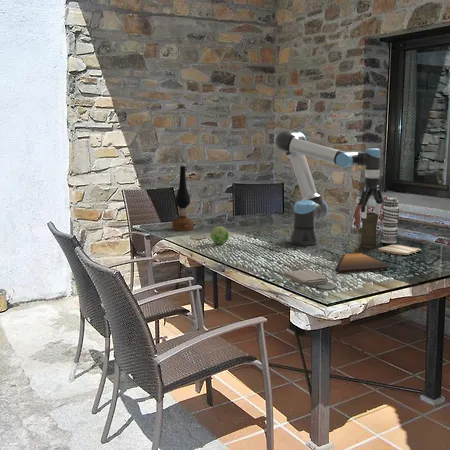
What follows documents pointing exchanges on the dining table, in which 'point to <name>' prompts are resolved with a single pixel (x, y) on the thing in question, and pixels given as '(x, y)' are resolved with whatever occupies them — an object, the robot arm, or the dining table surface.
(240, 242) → the dining table surface
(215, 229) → the decorative ball
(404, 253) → the oak board
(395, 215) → the decorative candle
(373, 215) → the container
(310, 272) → the washcloth
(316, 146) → the robot arm
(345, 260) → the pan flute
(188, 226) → the oil lamp
